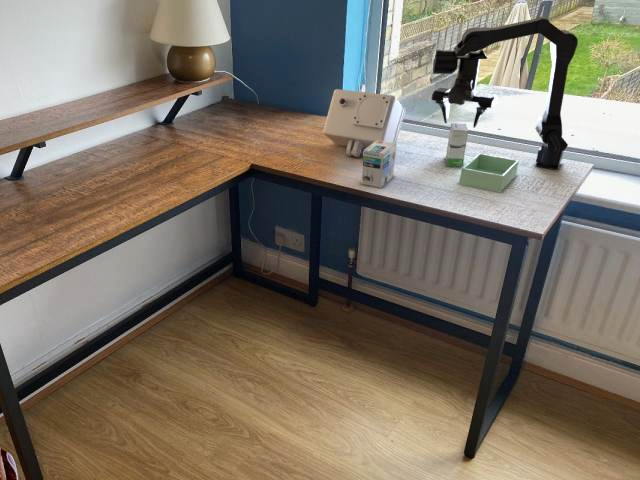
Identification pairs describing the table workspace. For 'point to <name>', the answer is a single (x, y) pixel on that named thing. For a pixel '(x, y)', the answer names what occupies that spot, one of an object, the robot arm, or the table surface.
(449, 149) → the ink box
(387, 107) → the junction box
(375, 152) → the light bulb box
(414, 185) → the table surface
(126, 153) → the table surface
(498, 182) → the open green storage box
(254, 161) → the table surface
